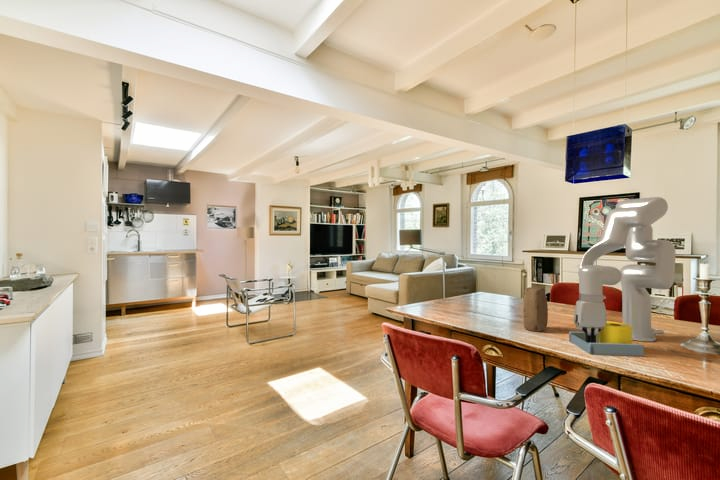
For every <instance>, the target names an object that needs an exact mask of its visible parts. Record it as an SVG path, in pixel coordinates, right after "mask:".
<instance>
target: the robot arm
mask: <svg viewBox="0 0 720 480" xmlns="http://www.w3.org/2000/svg"><path fill="white" fill-rule="evenodd" d="M668 205H669V204H668V201H667V200H666V199H665V198H663V197H660V196H656V197H655V196H652V197H643V198H642V197H641V198H631V199H624V200H621V201H619V202H617V203H616V204H615V208H612V209H611V210H609V211H608V213H607V215H606V217H605V220H604V221H605V222H604V224H603V228H602V232H601V235H600V238H599V240H598V241H597V242H596V243H595V244H593V245H592V246H591V247H590V248H588V249H587V251H586V252H585V253H584V254H583V255H582V258H581V259H580V263H579V265H578V270H577V271H578V285H579V286H578V299H579V300H576V303H575V308H574V315H573V323H574V324H575V329H577V330H580V331H581V332H584V333H585V334H586V342H587V343H596V335H598V333H599V332H600V331H602V328H604V327H605V326H607V321H608V317H607V310H606V303H605V302H604V300H606V299H607V297H606V295H604V294H603V285H604V286H614V285H615V286H616V285H617V284H618V283H621V285H620V286H621V295H622V299H621V300H622V301H621V302H622V304H621V305H622V307H621V308H622V311H621V312H622V314H621V315H622V319H621V320H622V322H621V323H624V324H627V325H630V326H632V341H638V342H655V341H657V337H656V335H665V330H663V329H656V328H653V327H652V297H651V294H650V293H649V291H648V290H647V289H653V290H669V289H670V288H672V287H673V285H674V280H675V273H676V271H675V270H676V269H675V268H676V255H677V254H676V248H675V245H674V243H672V242H671V241H670V240H666V239H653V232H654V231H653V230H654V229H653V226H652V225H653V224H655V223H656V222H657V221H659V220H660V219H661V218H663V217H664V216H665V215H666V214H667V211H668V209H669V206H668ZM624 247H625V257H626V258H627V259H628V260H629V261H633V262H638V263H639V262H642V263H655V265H649V264H648V265H647V264H632V263H631V264H627V265H623V266H622V267H621V268H620V269H619V268H616V267H614V266H608V265H599V264H598V265H597V264H595V263H596V262H597V260H598V259H599V258H601V257H602V256H604V255H607V254H609V253H612V252H615V251H618V250H621V249H622V248H624Z"/></svg>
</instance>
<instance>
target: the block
mask: <svg viewBox="0 0 720 480" xmlns="http://www.w3.org/2000/svg"><path fill="white" fill-rule="evenodd" d="M522 304H523V306H522V307H523V309H522V310H523V312H522V313H523V317H522V318H523V327H524V329H525V330H528V331H530V332H536V333H537V332H538V333H540V332H543V331H544V330H546V328H547V326H548V319H549V318H548V317H549V316H548V315H549V314H548V313H549V312H548V311H549V309H548V306H549V305H548V299H547V295H546V289H545V288H544V287H540V286H539V287H538V286H532V287H527V288H525V289H524V296H523V303H522Z"/></svg>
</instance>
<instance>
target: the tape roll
mask: <svg viewBox="0 0 720 480" xmlns="http://www.w3.org/2000/svg"><path fill="white" fill-rule="evenodd" d="M599 343H617V344H633V340H632V326H630V325H627V324H624V323H622V322H619V321H617V322H616V321H608V320H607V326H605V327H604V328H602V331H600V332H599Z"/></svg>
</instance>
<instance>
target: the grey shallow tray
mask: <svg viewBox="0 0 720 480" xmlns="http://www.w3.org/2000/svg"><path fill="white" fill-rule="evenodd" d="M568 334H569V335H568V338H569V339H568V340H569V342H570V343H572V344H574V345H575V346H576V347H578V348H580V349H582V350H583V351H585V352H586V353H587V354H590V355H597V356H599V355H602V356H624V357H625V356H628V357H629V356H630V357H644V355H645V353H644V351H645V350H644V347H645V345H644V344H641V343H632V344H617V343H599V333H598V335H596V343H587V342H586V334H585V333H584V332H583V331H569V333H568Z"/></svg>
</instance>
